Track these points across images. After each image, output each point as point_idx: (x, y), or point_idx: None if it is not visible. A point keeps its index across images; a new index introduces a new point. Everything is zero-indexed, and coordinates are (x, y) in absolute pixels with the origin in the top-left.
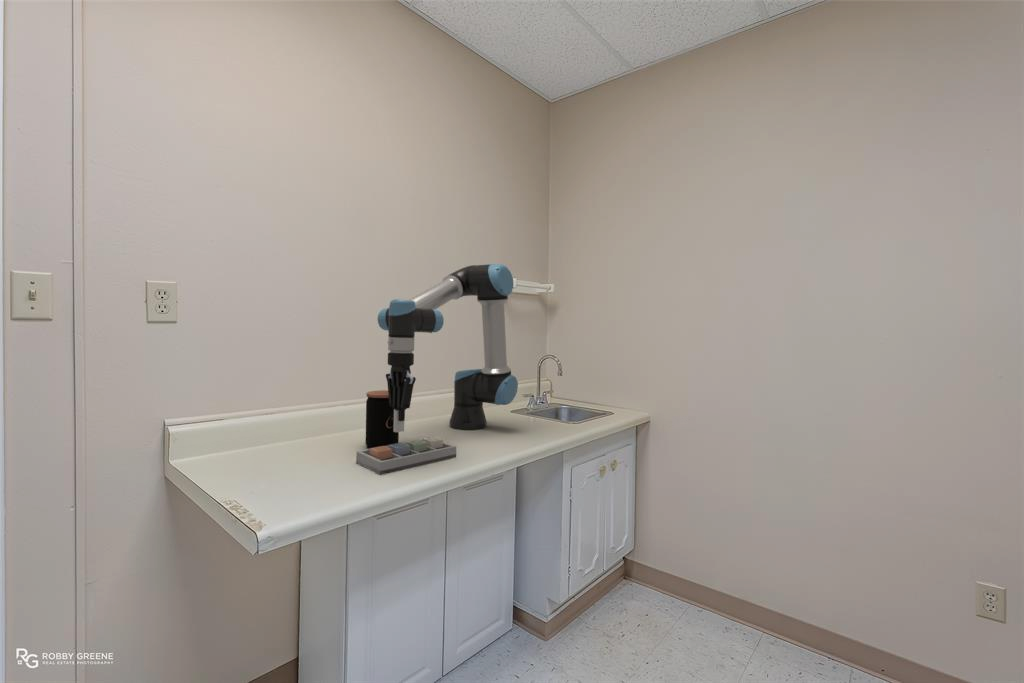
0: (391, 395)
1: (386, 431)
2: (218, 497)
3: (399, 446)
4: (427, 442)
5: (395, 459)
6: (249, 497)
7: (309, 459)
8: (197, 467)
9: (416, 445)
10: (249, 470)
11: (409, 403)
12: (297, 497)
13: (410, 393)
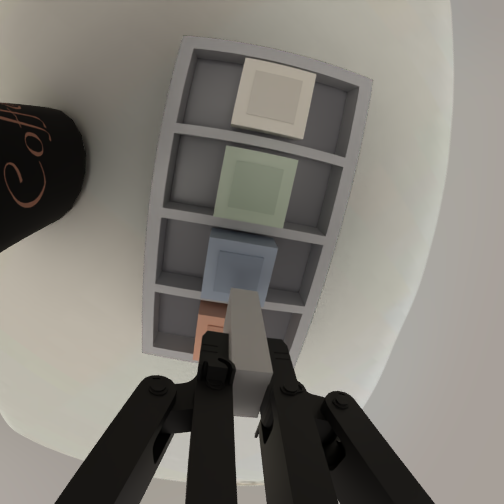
0: (147, 481)
1: (50, 197)
2: (182, 481)
3: (256, 288)
4: (273, 133)
5: (306, 334)
6: None
7: (62, 365)
8: (44, 439)
9: (284, 215)
10: (84, 433)
11: (366, 425)
12: (259, 456)
13: (408, 490)
